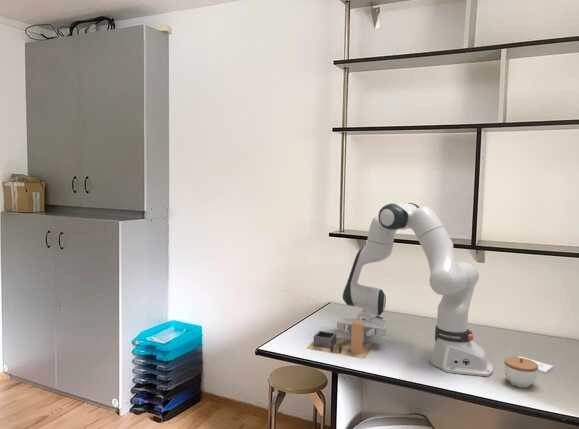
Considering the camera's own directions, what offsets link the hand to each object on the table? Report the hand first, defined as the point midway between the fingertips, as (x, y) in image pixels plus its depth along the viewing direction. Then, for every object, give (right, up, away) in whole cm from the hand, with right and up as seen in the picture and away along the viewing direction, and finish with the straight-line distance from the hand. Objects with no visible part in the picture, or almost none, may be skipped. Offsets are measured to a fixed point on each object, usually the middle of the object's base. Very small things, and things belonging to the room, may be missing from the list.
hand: (357, 332), depth 192 cm
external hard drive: (+67, -12, -5) cm, 68 cm away
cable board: (-6, -8, +7) cm, 12 cm away
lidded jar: (+54, -13, -22) cm, 60 cm away
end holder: (-12, -7, +9) cm, 16 cm away
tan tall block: (0, -8, +2) cm, 8 cm away
